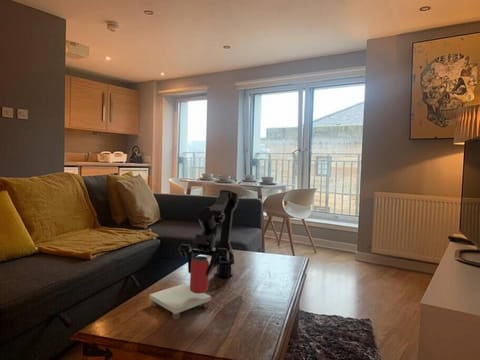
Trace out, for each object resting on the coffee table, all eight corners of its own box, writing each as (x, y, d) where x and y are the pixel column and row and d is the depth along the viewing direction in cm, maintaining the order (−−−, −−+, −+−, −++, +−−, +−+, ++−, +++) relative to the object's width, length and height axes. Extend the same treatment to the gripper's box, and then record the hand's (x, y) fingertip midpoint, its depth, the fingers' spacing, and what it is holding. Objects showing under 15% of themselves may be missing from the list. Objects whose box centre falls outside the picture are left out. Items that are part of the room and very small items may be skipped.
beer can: (199, 295, 116) (200, 262, 115) (186, 290, 119) (187, 258, 118) (211, 290, 121) (212, 258, 120) (198, 285, 125) (199, 254, 124)
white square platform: (149, 304, 121) (149, 294, 121) (184, 293, 133) (184, 283, 133) (175, 320, 111) (175, 309, 110) (210, 306, 122) (211, 296, 122)
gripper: (181, 223, 124) (167, 260, 114) (228, 227, 120) (219, 266, 110) (188, 238, 132) (176, 274, 123) (233, 243, 129) (224, 280, 119)
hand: (198, 273), depth 118 cm, fingers closed on beer can, 7 cm apart
